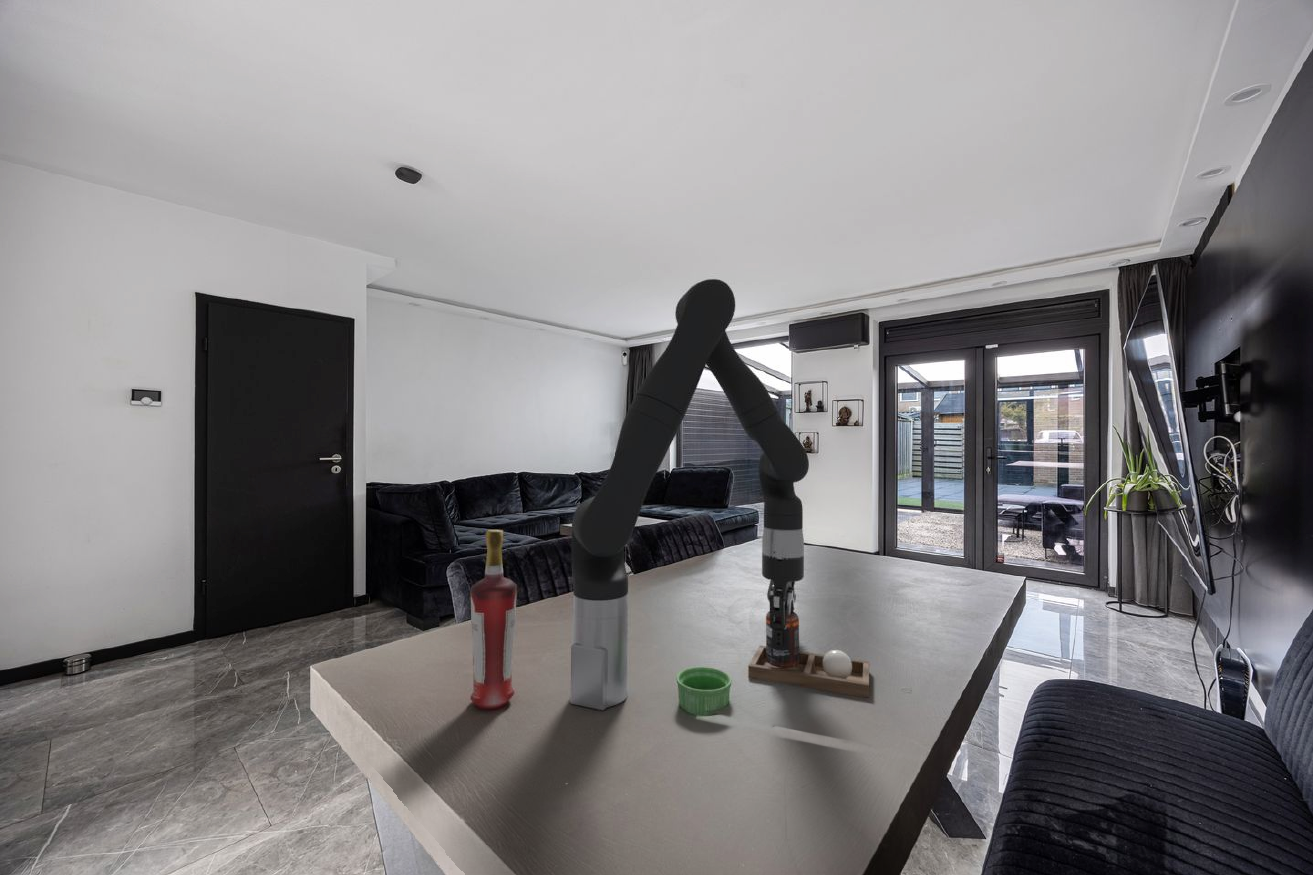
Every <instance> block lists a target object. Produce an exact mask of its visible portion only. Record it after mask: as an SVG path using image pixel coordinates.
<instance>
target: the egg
mask: <svg viewBox="0 0 1313 875" xmlns="http://www.w3.org/2000/svg"><path fill="white" fill-rule="evenodd" d="M824 655H825V656H824V658H823V663H822V664H823V669H824V671H825V673H826V674H827V675H828V676H830V677H836V678H842V679H846V678H848V677H849V675H850V674H851V672H852V662H851V660H850V659H851V658H850V657H849V656H848V654H847V653H845V651H843V650H840V649H832V650H829V651H828V652H826V654H824Z"/></svg>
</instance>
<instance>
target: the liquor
mask: <svg viewBox="0 0 1313 875" xmlns="http://www.w3.org/2000/svg"><path fill="white" fill-rule="evenodd" d="M503 542H504V530H503V529H490V530H489V529H488V530H485V543H486V549H487V552H486V559H485V561H486V562H485V569H484V578H482V579H480V580H478V581H476V583H474V584H473V585H472V586H471V587H470V593H469V594H470V616H471V617H470V618H471V619H470V621H471V622H470V623H471V625H470V626H471V636H472V637H471V638H472V639H471V640H472V667H473V668H472V669H473V670H472V672H473V676H472V678H473V683H472V684H473V685H472V686H473V691H472V692H471V695H470V701H471V702H473V704H474V705H476V706H477V707H478V708H480V709H481V710H489V711H490V710H496V709H499V708H502V707H503V706H505V705H506V704H507V703H508V702H509V701H510V700H511V699H512V698H513V696H514V695H515V690H514V688H513V687H512V686H513V685H512V684H513V683H512V681H513V660H514V657H513V656H514V641H515V640H514V639H515V638H514V636H515V625H516V612H517V610H516V608H517V590H518V584H516V582H514V581H513V580H512V579H510V578H508V577H504V568H503V566H504V565H503V553H502V548H503Z"/></svg>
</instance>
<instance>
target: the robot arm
mask: <svg viewBox="0 0 1313 875" xmlns="http://www.w3.org/2000/svg"><path fill="white" fill-rule="evenodd" d="M735 311H736V297H735V295H734V291H733V290H732V288H731V287H730V286H729V284H728V283H727V282H725V281H723V280H722V279H718V278H706V279H703V280H701V281H698V282H696V283H694V284H693V285H692V286H691V287H690V288H689V289H688V290H687V291H686V292H685V293H684V294H683V295H682V296H681V298H680V299H679V300H678V302H677V304H676V306H675V312H674V313H675V315H674V316H675V320H676V324H677V325H676V328H675V330H674V332H673V335H672V337H671V339H670V341H669V343H668V345H667V346H666V348H665V350H664V351H663V352H662V353H661V355H660V356H659V358H658V360H657V361H656V362H655V364H654V365H652V366H653V367H652V368H651V369H650V371H649V372H648V374H647V375H646V377H645V378H644V380H643V381H642V383H641V385H640V386H639V389H638V390H637V392H636V393H635V395H634V398H633V399H632V402H631V404H630V406H629V408H628V410H627V412H626V415H625V417H624V419H623V422H622V424H621V428H620V433H619V435H618V439H617V444H616V448H615V453H614V456H613V460H612V463H611V466H610V467H609V470H608V472H607V474H606V476H605V478H604V479H603V482H602V483H601V485H600V487H599V489H598V490H597V492H596V494H595V496H592V497H590V498H587V499H586V500H584V501H582V502H581V503H580V504H579V505H578V506H577V508H576V509H575V511H574V513H573V516H572V521H571V575H572V582H573V583H572V584H573V588H572V589H573V592H572V594H573V595H572V596H573V606H572V607H573V609H572V612H573V614H572V616H573V617H572V644H571V646H570V696H569V698H570V700H569V702H570V704H572V705H577V706H581V707H584V708H585V707H586V708H589V709H596V710H600V711H605V710H606V709H607V708H611V707H612V706H613V707H614V706H617V705H619V704H621V703H623V701H625V700H626V699H627V697H628V659H629V658H628V652H629V651H628V649H629V647H628V645H629V643H628V642H629V640H628V639H629V635H628V634H629V632H628V631H629V630H628V629H629V624H628V623H629V577H628V572H627V570H626V563H625V562H626V561H625V547H626V546H627V544H629V542H630V540H631V538H632V536H633V533H634V531H635V527H636V525H637V521H638V519H639V515H640V512H641V511H642V510H641V509H642V506H643V504H644V501H645V499H646V496H647V493H648V490H649V488H650V486H651V484H652V482H653V479H654V478H655V476H656V474H657V473H658V470H660V467H661V465H662V463H663V461H664V459H665V457H666V455H667V453H668V451H669V449H670V447H671V445H672V443H673V441H674V439H675V437H676V436H677V433H678V430H679V429H680V427H681V425H682V422H683V420H684V418H685V416H686V414H687V411H688V408H689V406H690V404H691V402H692V400H693V398H694V395H695V392H696V390H697V388H698V385H699V383H700V380H701V377H702V375H703V372H704V370H705V368H706V366H707V367H708V369H709V371H710V372H711V373H712V375H713V376H714V378H715V379H716V382H717V383H718V384H719V386H720V388H721V390H722V392H723V393H724V394H725V396H726V398H727V400H728V402H729V404H730V405H731V407H732V409H733V411H734V413H735V415H736V417H737V419H738V421H739V423H740V425H741V426H742V428H743V430H744V432H745V434H746V435H747V436H748V437H749V439H751V440H752V441H753V442H755V443H757V445H758V446H759V448H760V449H761V452H762V453H761V454H760V456H759V461H758V478H759V484H760V489H761V496H762V499H763V530H762V538H761V541H762V542H761V550H762V551H761V574H762V577H763V578H765V579H767V580H772V581H773V582H774V585H773V589H770V597H769V600H768V602H769V601H770V602H769V611H770V628H773V648H774V649H775V650H779V651H785V649H786V628H787V618H788V617H789V616H790V610H791V601H792V602H793V611H794V610H795V602H794V595H795V594H796V589H795V588H796V587H795V585H796V583H797V582H800V581H801V580H803V579H804V578H805V540H804V532H803V531H804V528H803V527H804V526H803V525H804V524H803V523H804V522H803V521H804V520H803V517H804V514H803V510H804V509H803V503H802V500H801V499H800V498H799V496H797V495H796V492H795V484H794V483H798V482H799V481H801V480H803V479H804V478H805V477H807V474H808V472H809V469H810V468H809V467H810V463H809V462H810V460H809V457H808V454H807V451H806V449H805V446H803V444H802V442H801V440H799V439H798V437H797V436H796V435H795V432H793V431H792V429H791V428H790V427H789V426H788V424H787V423H786V421H784V420H783V418H782V417H781V415H780V413H779V410H778V408H777V406H776V404H775V402H774V401H773V398H772V397H771V395H770V393H769V391H768V389H767V388H766V386H765V384H764V383H763V382H762V381H761V380H760V378H759V377H758V376H757V375H756V373H754V371H752V369H751V368H750V367H749V366H748V365H747V364H746V362H744V360H743V359H742V358H741V357H740V356H739V354H738V352H737V351H736V350H735V348H734V346H733V344H732V343H731V341H730V338H729V336H728V334H727V329H728V327H729V326H730V323H731V322H732V320H733V318H734V316H735ZM786 608H787V610H786V611H785V609H786ZM794 612H795V611H794ZM776 616H777V617H781V622H777V621H776Z"/></svg>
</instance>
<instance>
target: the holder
mask: <svg viewBox="0 0 1313 875" xmlns="http://www.w3.org/2000/svg"><path fill="white" fill-rule="evenodd" d="M824 656H825V654H821V653H820V654H819V653H813V652H808V651H802V650H801V651H800V650H799V664H798V665H797V666H795V667H792V668H779V667H775V666H772V665H770V664H769V663H768V662H767V659H766V646H764V645H759V646H758V648H757V650H756V651H755V653H754V655H753V657H752V659H751V661H750V662H749V663H748V667H747V668H748V669H747V671H748V672H747V674H748V678H750V679H751V678H752V679H756V680H763V681H769V682H774V683H780V684H781V683H782V684H787V685H791V686H797V687H804V688H810V689H816V690H820V691H821V690H822V691H827V692H832V693H838V694H843V695H844V694H845V695H849V696H850V695H851V696H857V697H863V698H867V699H868V698H870V661H868V660H860V659H855V658H850V660H851V662H852V672H851V674H850V675H849V677H848V678H846V679H842V678H836V677H830V676H828V675H827V674H826V673H825V671H824V669H823V664H822V663H823V658H824Z"/></svg>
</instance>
